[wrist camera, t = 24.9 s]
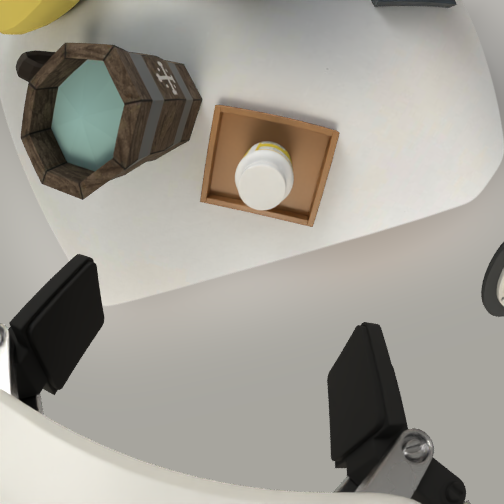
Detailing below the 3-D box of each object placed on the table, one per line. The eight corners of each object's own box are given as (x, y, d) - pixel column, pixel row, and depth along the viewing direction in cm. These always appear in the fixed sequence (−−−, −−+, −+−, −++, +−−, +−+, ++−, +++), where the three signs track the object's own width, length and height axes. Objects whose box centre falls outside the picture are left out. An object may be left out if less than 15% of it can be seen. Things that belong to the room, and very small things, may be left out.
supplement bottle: (257, 193, 34) (246, 227, 25) (236, 152, 32) (216, 172, 23) (300, 175, 32) (304, 204, 24) (279, 132, 30) (277, 144, 22)
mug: (226, 97, 29) (180, 93, 16) (157, 181, 35) (90, 231, 22) (115, 18, 24) (35, -3, 11) (63, 99, 30) (-18, 116, 17)
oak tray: (336, 130, 30) (339, 132, 28) (311, 220, 35) (312, 227, 33) (219, 104, 30) (215, 104, 28) (204, 196, 35) (199, 201, 33)
